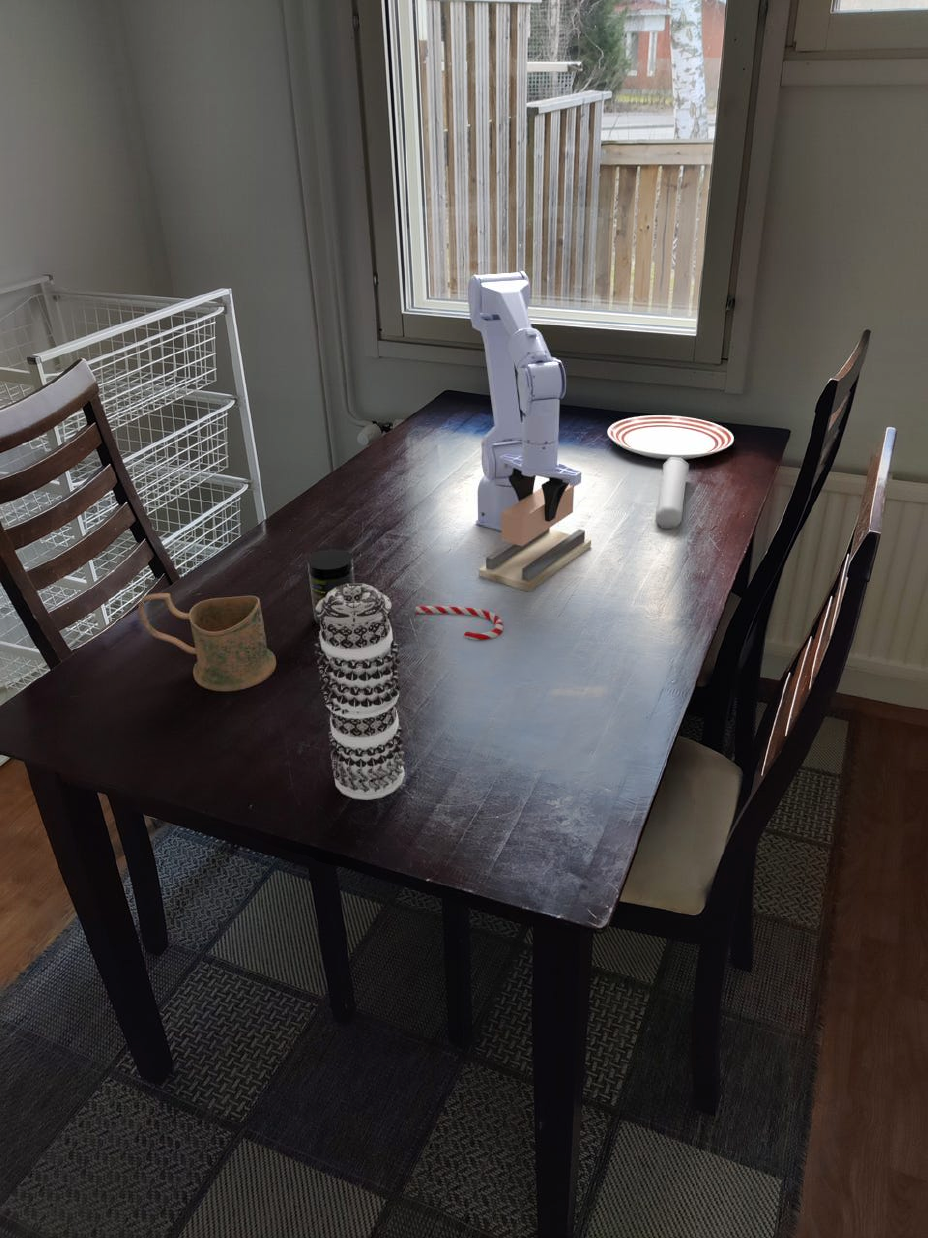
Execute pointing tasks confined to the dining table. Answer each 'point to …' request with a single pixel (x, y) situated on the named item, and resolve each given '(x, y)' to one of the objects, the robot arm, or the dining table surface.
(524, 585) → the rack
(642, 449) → the dinner plate
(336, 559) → the supplement container
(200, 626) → the mug
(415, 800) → the dining table surface
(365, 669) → the decorative candle
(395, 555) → the dining table surface
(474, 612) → the candy cane
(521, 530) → the clay block
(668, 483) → the tube
